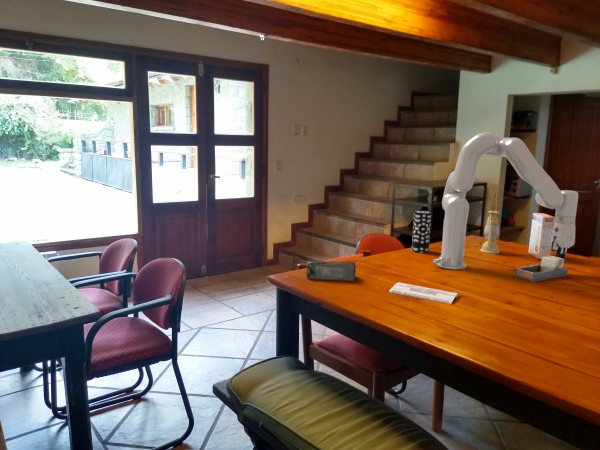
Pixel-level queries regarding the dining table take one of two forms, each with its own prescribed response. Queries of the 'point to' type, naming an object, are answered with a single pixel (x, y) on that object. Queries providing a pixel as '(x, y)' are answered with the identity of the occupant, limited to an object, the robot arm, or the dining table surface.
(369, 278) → the dining table surface
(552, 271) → the grey shallow tray
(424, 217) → the white-spotted black cylinder
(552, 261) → the block
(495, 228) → the lantern
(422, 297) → the newspaper
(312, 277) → the beverage carton
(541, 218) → the cracker box
